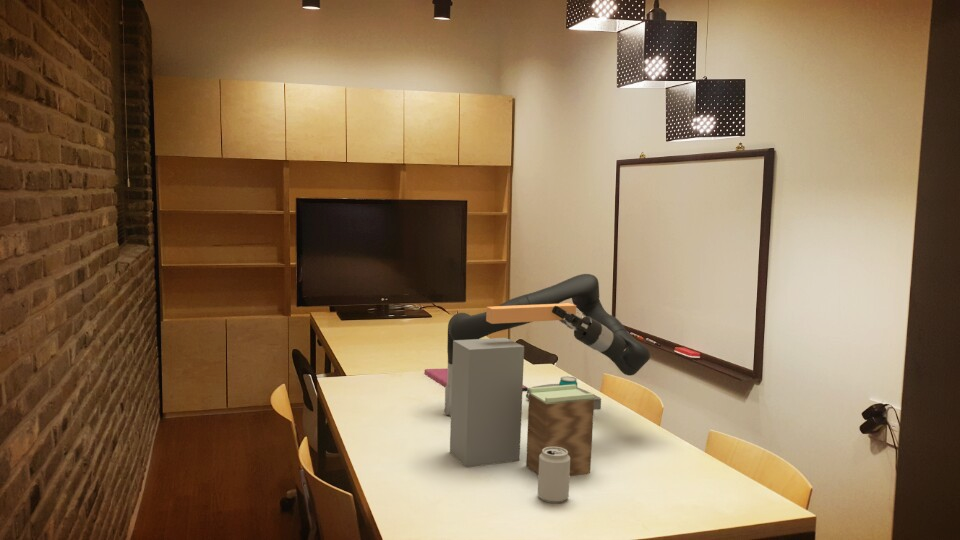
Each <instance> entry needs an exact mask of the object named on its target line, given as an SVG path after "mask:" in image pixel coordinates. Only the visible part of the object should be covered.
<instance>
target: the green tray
mask: <svg viewBox="0 0 960 540" xmlns="http://www.w3.org/2000/svg"><path fill="white" fill-rule="evenodd" d="M577 387H578V384H577V385H575V384H573V385H562V386H550V387H538V388H531V387H528V388H529V394H531V395H532V396H534V397H536V398H537V399H539V400H541V401H542V402H544V403H546V404H555V403H565V402H575V401H586V400H594V395H595V393H593V392H590V393H588V394H586V393H584V392H582V391H580V390H578V389H577Z"/></svg>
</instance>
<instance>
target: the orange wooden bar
mask: <svg viewBox="0 0 960 540" xmlns="http://www.w3.org/2000/svg"><path fill="white" fill-rule="evenodd" d="M554 306H558V307H559V308H561V309H563V310H564V311H567V312H569V313H570V314H575V315H576V316H577V307H576V305H574V304H573V303H570V302H569V303H567V302H566V303H559V304H540V305H516V306H499V305H498V306H497V305H495V306H486V311H485V312H486V321H487V322H489V323H492V324H497V323H516V322H530V323H533V322H550V321H554V322H555V321H559V320H563V318H560V317H559V316H557V315H555V314H554V313H552V310H553V308H554ZM565 313H566V312H565ZM574 318H575V317H574Z"/></svg>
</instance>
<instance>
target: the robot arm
mask: <svg viewBox="0 0 960 540" xmlns="http://www.w3.org/2000/svg"><path fill="white" fill-rule="evenodd" d="M599 284H600V283H599V280H598V278H597V276H595V275H594V274H590V273H582V274H578V275H575V276H572V277H571V278H568V279H566V280H563V281H561V282H558V283H556V284H554V285H551V286H548V287H545V288H542V289H540V290H536V291H534V292H531V293H527V294H523V295H519V296H516V297H513V298H510V299H508V300H507V301H505V302H503V303H500V304H499V305H498V306H516V305H540V304H561V303H562V302H564V301H567V300H570V299H571V300H572V304H573V305H576V309H578V311H579V312H581V313H582V314H583V315H584V316H583V317H580V316H578V315H577V314H576V315H575V314H570V313H569V312H567V311H564V310H563V309H561V308H559V307H558V306H554V308H553V310H552V313H554V314H555V315H557V316H559V317H560V318H563V320H558V321H559V322H560V323H561V324H563V325H565V326H566V328H569V329H571V330H573V336H574V338H575V339H576V340H578V341H579V342H581V343H582V344H584V345H585V346H587V347H589V348H590V349H592V350H594V351H597V352H598V353H600V354H603V355H604V356H605V357H607V358H609V360H610V361H612V362H613V363H614V365H615V366H616V367H617V368H618V369H619V371H620V372H621V373H623V374H624V375H626V376H634V375H636V374H637V373H638V372H639V370H641V369H642V368H643V367H644V366H645V365H646V364H647V363H648V362H649V360H650V359H651V351H650V349H649V348H648V347H647V346H646V345H645V344H643V343H642V342H640V341H639V340H637V339H636V338H634V337H633V336H632V335H631V334H630V332H629V331H628V330H627V329H626V328H625V326H624V325H623V324H622V322H621V321H620V320H619V319H618V318H617V317H615V316H614V315H611V314H609V312H607V311H606V309H605V308H604V307H603V304H602V302H601V301H600V286H599ZM565 312H566V313H565ZM574 317H575V318H574ZM530 323H531V322H516V323H497V324H492V323H489V322H487V321H486V311H484V312H481V313H477V314H471V315H470V314H469V313H467V312H458V313H455V314H453V316H451V318H450V319H449V321H448V324H447V346H446V347H447V348H446V349H447V369H448V373H447V385H446V387H444V415H445V416H450V417H451V395H452V362H453V340H472V339H483V338H485V337H487V336H489V335H492V334H494V333H498V332H502V331H505V330H509V329H513V328H517V327H520V326H524V325H527V324H530Z"/></svg>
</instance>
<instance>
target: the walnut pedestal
mask: <svg viewBox="0 0 960 540" xmlns="http://www.w3.org/2000/svg"><path fill="white" fill-rule="evenodd" d="M594 411H595V410H594V400H586V401H575V402H565V403H555V404H546V403H544V402H542V401H541V400H539V399H537V398H536V397H534V396H532V395H531V394H529V399H528V411H527V412H528V417H527V433H526V434H527V437H526V439H527V440H526V458H525V459H526V460H525V463H526V464H525V466H526V467H527V468H528V467H529V468H528V469H529V470H530V471H532V472H533V473H535V474H536V475H537V477H538V476H539V455H540V454H541V453H542V450H543V449H544V448H546V447H561V448H564V449H566V450H567V451H568V455H569V456H570V475H569V477H572V476H573V477H574V476H579V475H587V474H591V464H592V445H593V444H592V443H593V426H594V425H593V424H594Z"/></svg>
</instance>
